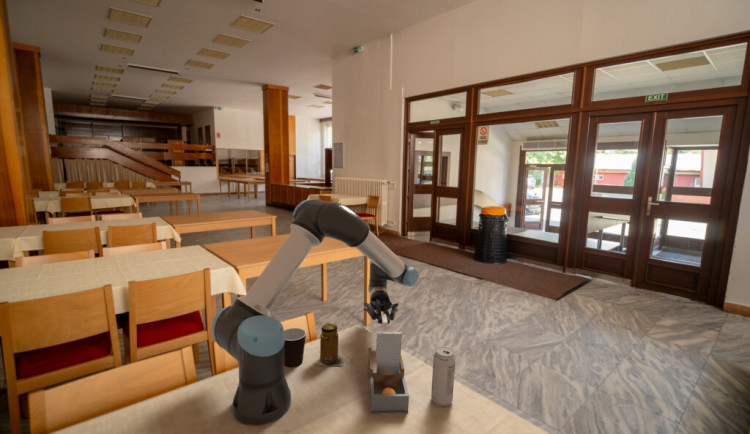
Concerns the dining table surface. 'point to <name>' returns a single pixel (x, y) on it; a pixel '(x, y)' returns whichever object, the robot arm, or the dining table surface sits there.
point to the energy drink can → (443, 376)
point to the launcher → (383, 380)
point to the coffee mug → (294, 347)
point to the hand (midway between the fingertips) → (385, 326)
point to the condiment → (330, 347)
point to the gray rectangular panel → (388, 353)
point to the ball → (388, 391)
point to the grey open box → (389, 399)
